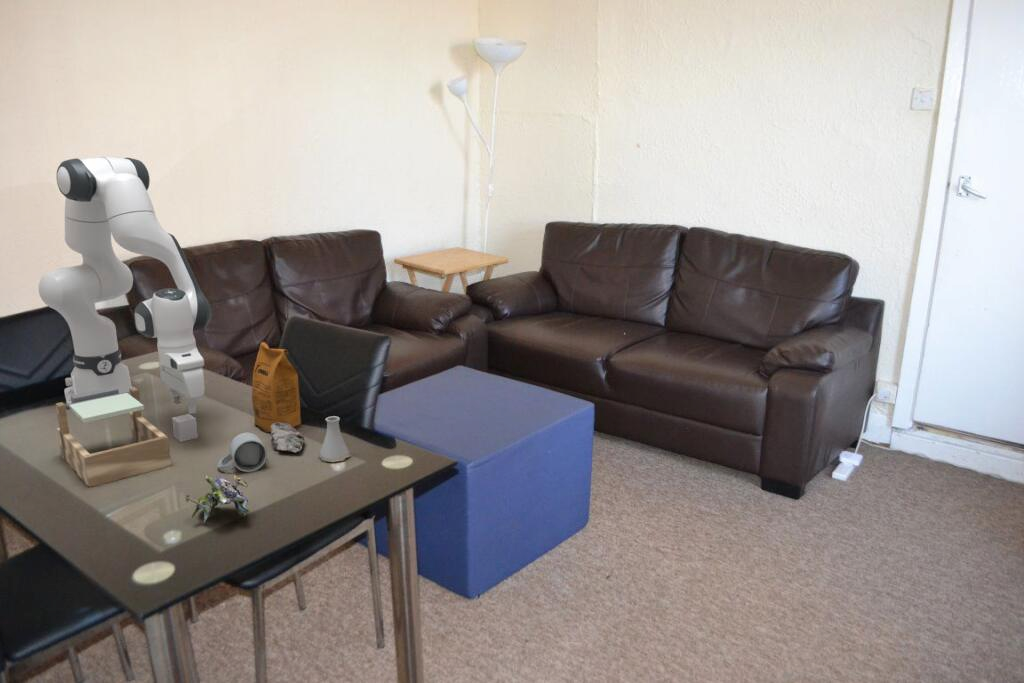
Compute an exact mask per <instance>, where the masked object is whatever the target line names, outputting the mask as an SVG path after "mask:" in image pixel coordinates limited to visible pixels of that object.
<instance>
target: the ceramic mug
mask: <svg viewBox="0 0 1024 683" xmlns="http://www.w3.org/2000/svg"><path fill="white" fill-rule="evenodd" d="M229 450H230V452H229V453H227V454H226V455H224V456H223V457H222V458H221V459H220V460H219V461H218V463H217V468H218V469H219V471H220V472H223V473H224V472H228V471H230V470H232V469H234V468H236V469H238V470H239V471H242V472H244V473H249V472H250V473H251V472H255V471H257V470H259V469H260V468H262V467H263V466H264V464H265V463H266V461H267V458H268V452H267V447H266V446H265V444H264V443H263V442H262V440H261V439H260V437H258V435H256V434H254V433H252V432H242V433H239V434H237V435H236V436H234V437H233V439H232V441H231V443H230V447H229ZM231 460H232V461H231Z"/></svg>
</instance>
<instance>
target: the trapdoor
mask: <svg viewBox="0 0 1024 683" xmlns="http://www.w3.org/2000/svg"><path fill="white" fill-rule="evenodd" d="M71 402H72V403H71V404H67V403H66V404H65V408H66V411H67V410H70V411H71V412H72V413H73V414H74V416H76V417H78V419H80V420H81V422H83V423H84V424H85V423H90V422H94V421H97V420H102V419H108V418H112V417H116V416H121V415H126V414H129V413H130V412H135V411H139V410H141V411H143V410H145V405H144V404H142V403H141V401H140V402H139V401H137V400H136V399H135V398H133V397H132V396H131V395H130V393H129V392H125V393H120V394H119V391H118V389H117V388H116V387H112V388H107V389H102V390H97V391H92V392H87V393H82V394H77V395H72V396H71Z"/></svg>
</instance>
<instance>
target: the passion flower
mask: <svg viewBox="0 0 1024 683" xmlns="http://www.w3.org/2000/svg"><path fill="white" fill-rule="evenodd" d="M232 476H233V479H234V482H236V483H235V484H234V483H232V482H230V481H228V479H227V478H223V477H222V478H221V476H216V477H215V478H212V477H209V476H208V475H206V476H205V481H206V482H207V483H208V484H209V485H210V486H211V488H210V492H206V493H205V494H204V497H203V496H200V497H199V498H198V502H196V501H195V500H193V499H191V498H190V495H191V494H187V493H186V494H185V495H184V496H185V502H187V503H188V502H189V501H190V502H191V503H194V504H196V505H195V506H196V507H195V509H194V511H193V512H192V514H191V518H192V519H193V518H194V517H195V516H196V514H197V513H198V512H199V511H200V510H201V509H203V514H204V516H203V522H202V526H203V525H205V523H206V521H207V520H208V518H210V517H211V516H212V515H213V510H214V509H215V508H216V507H217V506H218V504H220V506H223V505H230V504H231V503H234V506H235V507H234V508H235V511H236V512H237V513H238V515H240V516H241V517H246V514H247V513H248V512H249V509H247V508H246V506H247V505H248V504H249V499H247V498H246V497H245V496H244V494H243V491H242V490H241V489H240V488H237V487H238V486H239V485H240V486H242V487H245V488H247V487H248V484H247V482H246V481H245V480H243V478H241V477H240V475H237V474H236V473H233V475H232ZM205 505H206V506H208V508H207V507H205Z"/></svg>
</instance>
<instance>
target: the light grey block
mask: <svg viewBox="0 0 1024 683" xmlns="http://www.w3.org/2000/svg"><path fill="white" fill-rule="evenodd" d="M171 422H172V430H173V438H175V439H176V440H177V441H179V443H182V442H186V441H189V440H192V439H193V440H194V439H198V438H199V434H198V428H197V427H198V426H197V425H198V424H197V418H196V417H195V416H193V415H192V414H190V413H187V414H182V415H179V416H174V417H171Z"/></svg>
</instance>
